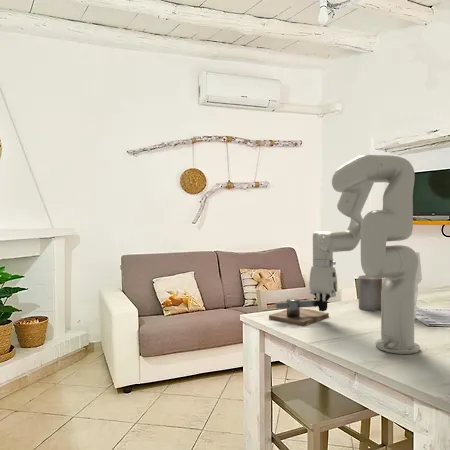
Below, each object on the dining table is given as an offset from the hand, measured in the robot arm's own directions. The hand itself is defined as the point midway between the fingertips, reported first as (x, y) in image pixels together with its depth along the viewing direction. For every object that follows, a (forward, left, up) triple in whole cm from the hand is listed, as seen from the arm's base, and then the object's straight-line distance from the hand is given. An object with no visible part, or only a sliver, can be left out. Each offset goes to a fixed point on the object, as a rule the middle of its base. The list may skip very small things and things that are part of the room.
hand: (322, 310), depth 172 cm
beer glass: (+25, -23, -4) cm, 34 cm away
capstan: (-5, +8, -2) cm, 10 cm away
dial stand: (-3, +9, -4) cm, 10 cm away
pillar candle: (+30, -5, -4) cm, 31 cm away
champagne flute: (+41, -19, -4) cm, 45 cm away
